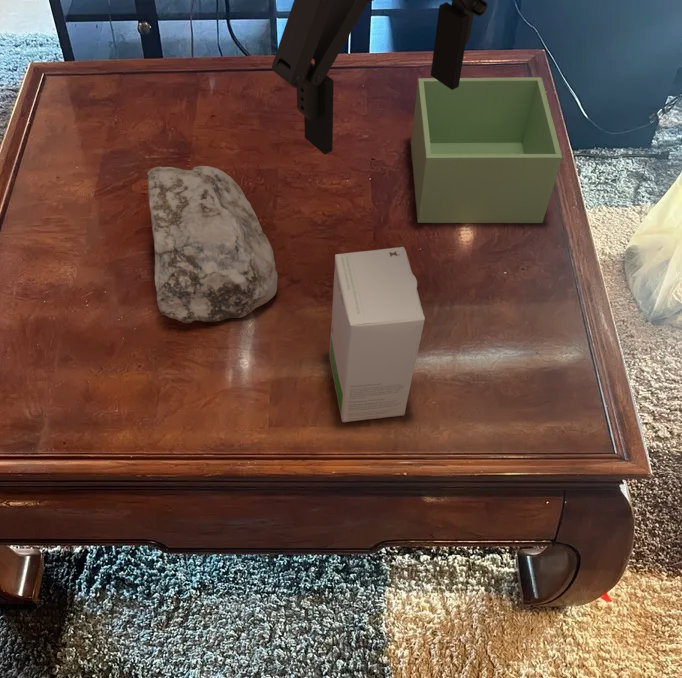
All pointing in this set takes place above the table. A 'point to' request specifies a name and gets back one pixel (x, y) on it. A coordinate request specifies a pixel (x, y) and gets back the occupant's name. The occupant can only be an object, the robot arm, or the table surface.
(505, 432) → the table surface
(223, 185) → the decorative stone
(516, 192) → the bin
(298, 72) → the robot arm
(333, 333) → the cosmetic box
